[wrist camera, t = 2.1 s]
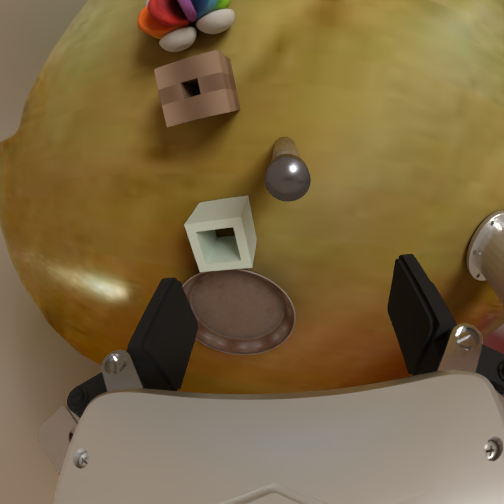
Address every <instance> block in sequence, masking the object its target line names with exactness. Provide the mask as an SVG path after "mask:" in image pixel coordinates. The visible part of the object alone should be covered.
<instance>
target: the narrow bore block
mask: <svg viewBox="0 0 504 504" xmlns="http://www.w3.org/2000/svg"><path fill="white" fill-rule="evenodd" d="M154 72H155V77H156V82H157V86H158V91H159V95H160V100H161V104H162V109H163V113H164V117H165V121H166V125H167V127H170V126H174V125H178V124H181V123H185V122H189V121H193V120H197V119H201V118H205V117H209V116H214V115H218V114H223V113H228V112H232V111H236V110H240V106H239V101H238V96H237V91H236V86H235V82H234V77H233V72H232V67H231V62H230V59H229V58H228V57H226V56H225V55H224V54H222V53H221V52H220V51H218V50H215V51H211V52H207V53H203V54H199V55H196V56H192V57H189V58H185V59H182V60H179V61H176V62H173V63H170V64H167V65H164V66H161V67H159V68H156V69H154Z"/></svg>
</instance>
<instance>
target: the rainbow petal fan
mask: <svg viewBox="0 0 504 504" xmlns="http://www.w3.org/2000/svg"><path fill="white" fill-rule="evenodd" d="M230 2H231V0H146V3H145V7H144V9H143V10H142V11H141V12H140V14H139V16H138V20H137V23H138V27H139V28H140V29H141V30H142V31H143V32H145V33H147V34H149V35H151V36H153V37H154V38H157V39H161V40H160V41H159V44H160V46H161V47H162V48H163V49H164V50H166V51H169V52H179V51H182V50H185V49H187V48H189V47H190V46H191V45H192V44H193V43H194V41H195V39H196V35H197V31H196V28H194V27H189V26H190V22H194V21H196V20H197V22H196V27H197V28H198V29H199V30H200V31H202V32H204V33H207V34H218V33H221V32H223V31H225V30H227V29H229V28H230V27H231V25H232V24H233V22H234V18H235V15H234V11H233V10H232V9H227V8H228V6H229V4H230Z"/></svg>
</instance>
